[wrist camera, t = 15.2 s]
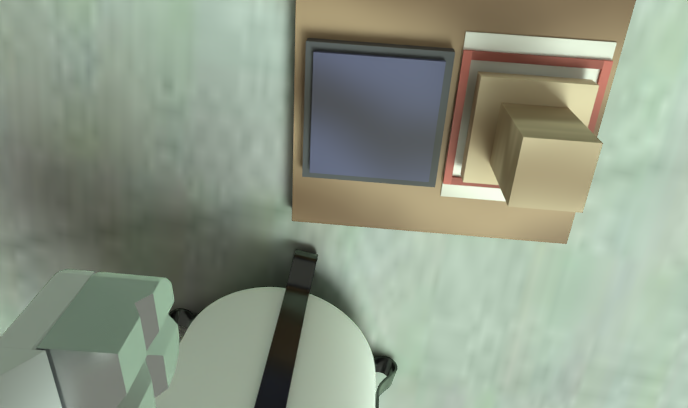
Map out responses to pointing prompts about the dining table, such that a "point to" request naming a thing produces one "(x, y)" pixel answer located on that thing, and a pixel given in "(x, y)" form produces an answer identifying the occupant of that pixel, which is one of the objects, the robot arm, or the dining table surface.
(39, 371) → the robot arm
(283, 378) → the coffee press
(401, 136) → the station board
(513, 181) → the stamp
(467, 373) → the dining table surface
